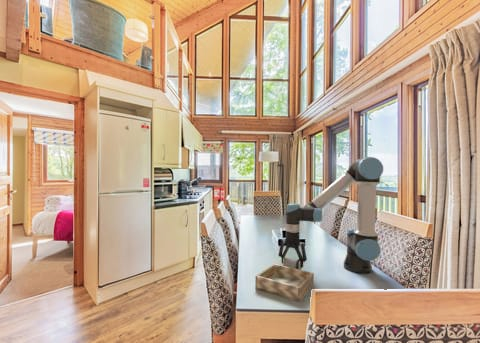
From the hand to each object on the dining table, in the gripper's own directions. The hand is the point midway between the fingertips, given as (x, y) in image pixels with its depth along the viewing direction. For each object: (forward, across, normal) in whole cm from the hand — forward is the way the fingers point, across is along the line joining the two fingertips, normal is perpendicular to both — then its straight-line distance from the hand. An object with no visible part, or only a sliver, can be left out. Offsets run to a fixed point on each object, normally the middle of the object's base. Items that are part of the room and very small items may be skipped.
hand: (292, 271), depth 141 cm
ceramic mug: (0, 0, -1) cm, 1 cm away
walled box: (0, +4, -20) cm, 20 cm away
